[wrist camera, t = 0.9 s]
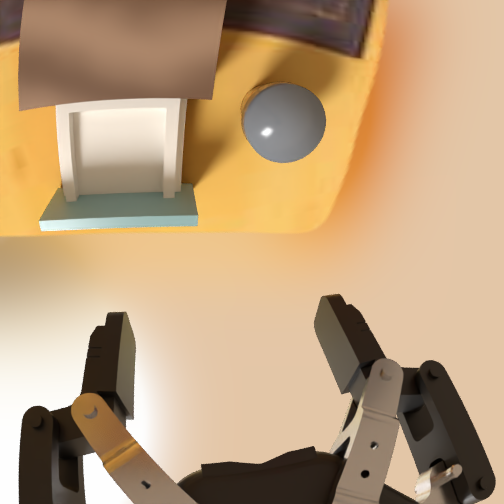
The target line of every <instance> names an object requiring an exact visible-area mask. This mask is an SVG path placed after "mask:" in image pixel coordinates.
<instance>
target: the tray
mask: <svg viewBox="0 0 504 504" xmlns="http://www.w3.org/2000/svg"><path fill="white" fill-rule="evenodd" d="M186 106H187V99H181V98H143V99H117V100H101V101H89V102H79V103H70V104H61V105H56V123H57V139H58V151H59V161H60V170H61V178H62V186H63V188H58V189H57V191H56V193H55V194H54V196H53V198H52V199H51V201H50V203H49V204H48V206H47V208H46V209H45V211H44V213H43V215H42V216H41V218H40V220H39V224H40V228H41V231H56V230H77V229H102V228H131V227H168V226H197V224H198V212H197V207H196V201H195V196H194V190H193V184H192V183H181V176H182V158H183V143H184V130H185V118H186Z"/></svg>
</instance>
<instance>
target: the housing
mask: <svg viewBox="0 0 504 504" xmlns="http://www.w3.org/2000/svg"><path fill="white" fill-rule="evenodd" d="M226 2H227V0H24V6H23V13H22V22H21V32H20V45H19V72H18V85H19V111H23V110H28V109H34V108H40V107H47V106H54V105H61V104H70V103H79V102H89V101H101V100H117V99H143V98H181V99H208V100H212V96H213V88H214V80H215V73H216V66H217V59H218V52H219V45H220V38H221V32H222V26H223V20H224V14H225V8H226Z"/></svg>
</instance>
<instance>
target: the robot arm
mask: <svg viewBox="0 0 504 504" xmlns="http://www.w3.org/2000/svg"><path fill="white" fill-rule="evenodd" d="M314 328H315V332H316V335H317V337H318V340H319V342H320V344H321V347H322V349H323V351H324V354H325V356H326V358H327V361H328V363H329V365H330V368H331V370H332V372H333V375H334V377H335V380H336V382H337V385H338V387H339V389H340V392H341V394H344V393H348V392H350V393H351V395H352V399H351V401H350V403H349V406H348V409H347V413H346V415H345V418H344V421H343V424H342V427H341V430H340V432H339V435H338V437H337V439H336V440H335V442H334V444H333V446H332V448H331V450H330V453H326V452H319V451H315V448H314V446H312V447H308V448H304V449H299V450H295V451H291V452H287V453H285V454H283V455H280V456H278V457H276V458H274V459H271V460H269V461H267V462H264V463H262V464H251V463H239V462H221V463H212V464H201V468H202V469H201V470H198V471H196V472H193V473H191V474H189V475H188V476H186V477H184V478H183V479H182V480H181V481H179V483H177V484H176V483H175V482H174V481H173V480H172V479H171V478H170V477H169V476H168V475H167V474H166V473H165V472H164V471H163V470H162V469H161V468H160V467H159V466H158V465H157V464H156V463H155V462H154V460H153V459H152V458H151V457H150V456H149V455H148V454H147V453H146V451H145V450H144V449H143V448H142V447H141V446H140V445H139V444H138V442H137V441H136V440H135V439H134V438H133V437H132V436H131V434H130V433H129V432H128V431H127V430H126V419H129V420H131V419H132V420H133V419H134V374H135V353H136V345H135V338H134V334H133V331H132V328H131V325H130V322H129V318H128V315H127V313H126V312H110V313H108V314H107V317H106V323H105V326H97V327H96V328H95V330H94V332H93V333H92V334H91V336H90V341H89V346H88V347H89V349H88V352H87V358H86V364H85V370H84V377H83V384H82V390H81V394H80V396H79V397H77V398H76V399H75V400H74V402H73V404H72V405H70V406H68V407H65V408H61V409H58V410H54V411H50V412H49V410H47V409H46V408H45V407H42V406H33V407H31V408H29V409H28V410H27V411H26V412H25V414H24V416H23V419H22V427H21V438H20V452H19V504H86V501H85V490H84V475H83V455H86V454H90V453H94V452H96V453H97V455H98V456H99V457H100V459H101V460H102V462H103V466H104V468H105V469H106V470H107V472H108V473H109V475H110V476H111V477H112V478H113V480H114V481H115V482H116V483H117V485H118V486H119V487H120V488H121V489H122V490H123V492H124V493H125V494H126V495H127V496H128V497H129V499H130V500H131V501H132V502H133V503H134V504H474V503H477V502H479V501H482V500H484V499H486V498H488V497H489V496H490V495H491V494H492V492H493V490H494V488H495V481H496V480H495V476H494V473H493V470H492V468H491V465H490V463H489V460H488V458H487V455H486V453H485V450H484V448H483V446H482V443H481V441H480V439H479V437H478V435H477V432H476V430H475V428H474V425H473V423H472V421H471V419H470V417H469V415H468V413H467V411H466V409H465V407H464V405H463V402H462V400H461V398H460V397H459V395H458V393H457V391H456V389H455V387H454V385H453V383H452V381H451V379H450V377H449V375H448V374H447V372H446V370H445V368H444V367H443V366H442V365H441V364H440V363H439V362H436V361H433V360H429V361H425V362H424V363H423V364H422V365H421V366H420V368H404V367H400V365H399V364H398V363H397V362H395V361H393V360H391V359H387V358H386V357H385V355H384V353H383V351H382V350H381V348H380V346H379V344H378V342H377V341H376V339H375V337H374V335H373V333H372V332H371V330H370V328H369V327H368V325H367V323H365V319H364V318H363V316H362V314H361V313H360V311H359V310H357V309H356V308H355V307H354V306H353V305H352V304H349V305H346V303H345V301H344V299H343V298H342V296H341V295H340V294H334V295H327V296H322V297H321V300H320V303H319V306H318V310H317V313H316V317H315V321H314ZM396 414H397V417H398V418H396ZM399 424H401V426H402V429H403V432H404V434H405V437H406V440H407V442H408V445H409V448H410V450H411V453H412V456H413V458H414V461H415V464H416V466H417V469H418V472H419V475H420V476H419V477H418V479H417V482H416V486H415V493H416V494H417V497H416V500H414V499H412V498H410V497H408V496H406V495H404V494H402V493H400V492H398V491H397V490H395V489H393V488H391V487H389V486H388V485H386V484H384V482H385V478H386V475H387V472H388V468H389V465H390V461H391V458H392V454H393V450H394V446H395V442H396V438H397V433H398V429H399Z"/></svg>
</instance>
